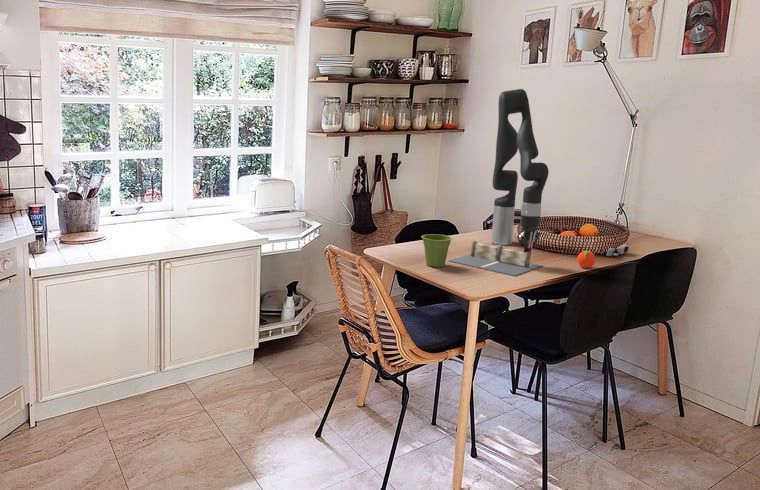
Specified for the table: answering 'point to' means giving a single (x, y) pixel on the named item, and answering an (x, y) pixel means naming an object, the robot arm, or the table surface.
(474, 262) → the card
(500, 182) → the robot arm
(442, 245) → the plant pot
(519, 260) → the swinging fence section
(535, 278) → the table surface
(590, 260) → the clementine
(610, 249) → the robot toy
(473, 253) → the fixed fence section
